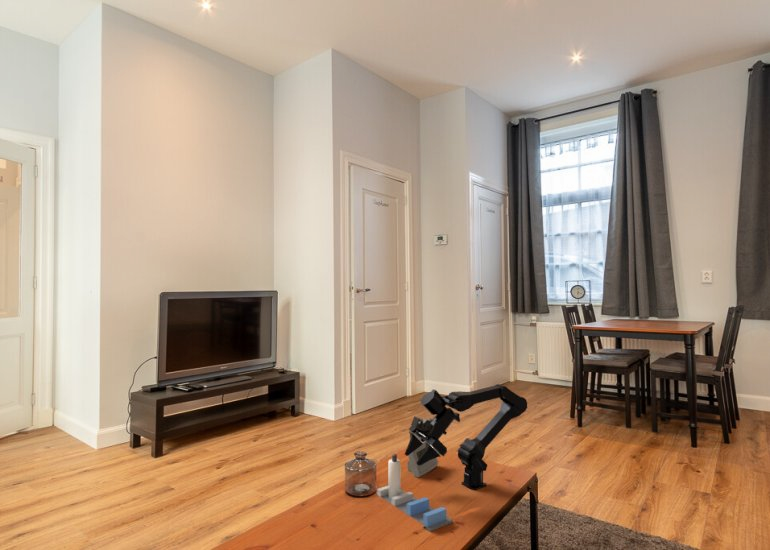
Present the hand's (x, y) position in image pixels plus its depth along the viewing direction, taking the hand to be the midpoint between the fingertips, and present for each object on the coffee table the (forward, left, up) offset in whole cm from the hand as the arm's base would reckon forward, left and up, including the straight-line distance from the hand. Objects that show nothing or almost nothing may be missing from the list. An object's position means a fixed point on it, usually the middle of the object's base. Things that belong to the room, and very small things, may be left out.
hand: (411, 459), depth 158 cm
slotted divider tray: (+5, +7, -12) cm, 15 cm away
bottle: (+6, -1, -12) cm, 13 cm away
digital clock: (-17, -14, -13) cm, 26 cm away
